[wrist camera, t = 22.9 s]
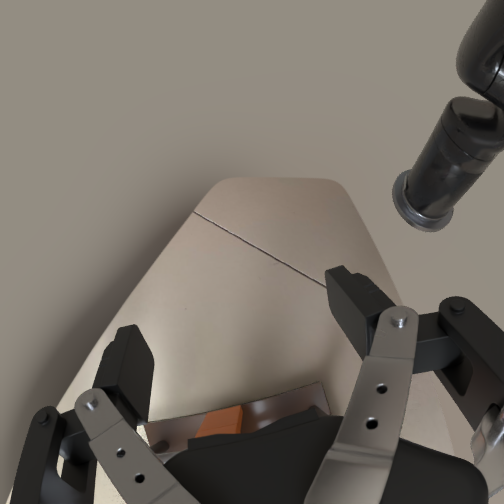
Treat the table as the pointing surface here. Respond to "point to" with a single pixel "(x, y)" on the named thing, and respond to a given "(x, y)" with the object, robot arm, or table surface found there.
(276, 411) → the rail stand
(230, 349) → the table surface
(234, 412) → the orange lidded gift box
